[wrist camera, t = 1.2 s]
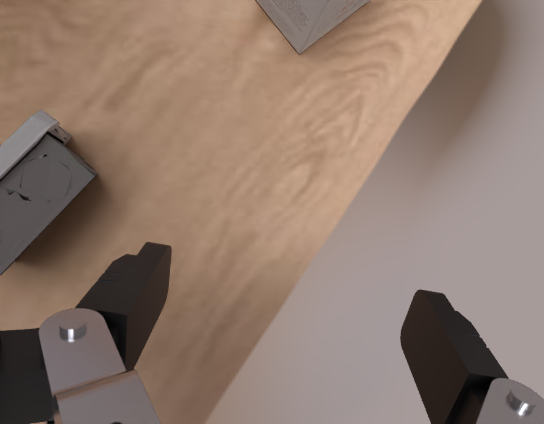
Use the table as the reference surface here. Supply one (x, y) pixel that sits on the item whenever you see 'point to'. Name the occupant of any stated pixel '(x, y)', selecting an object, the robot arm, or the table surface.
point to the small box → (308, 18)
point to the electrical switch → (36, 182)
